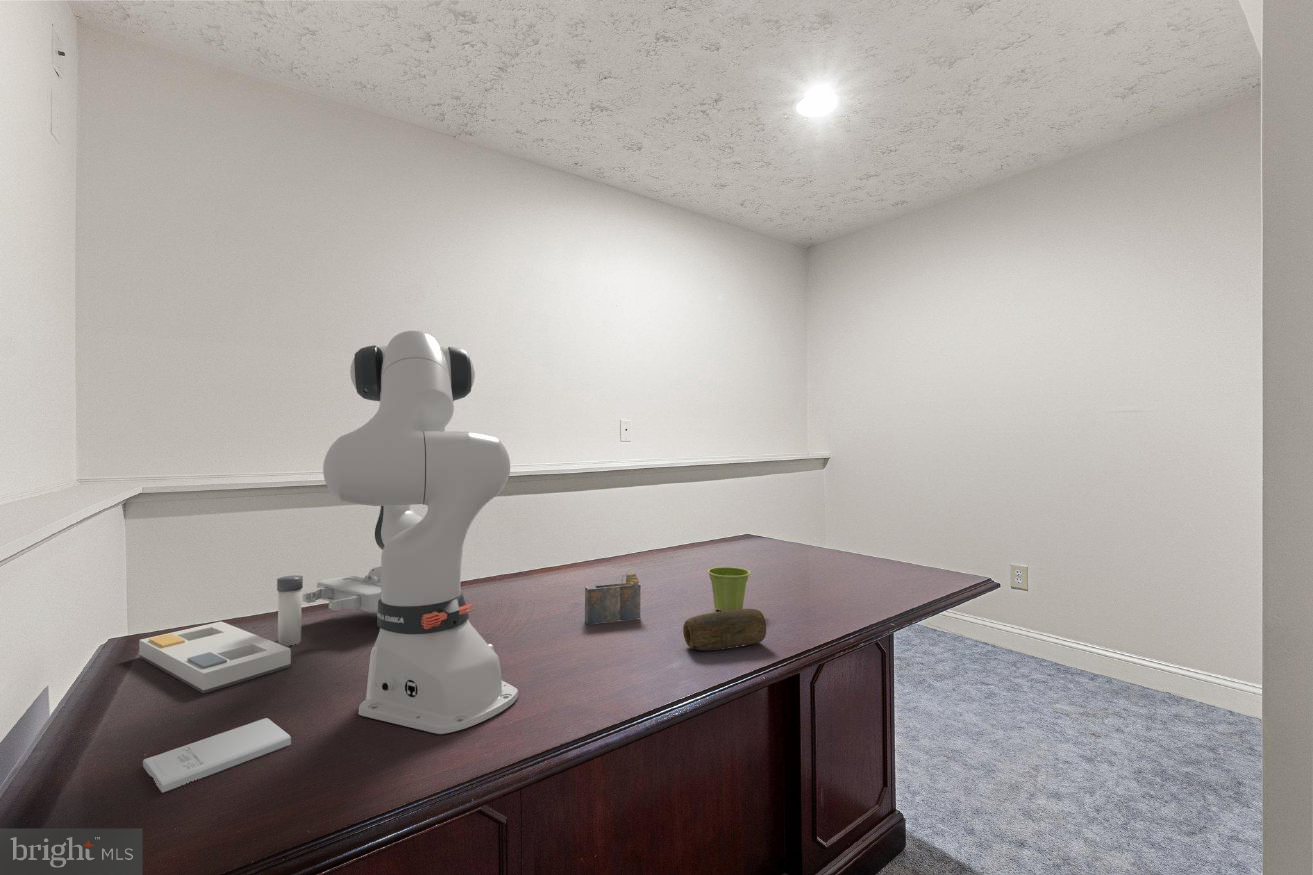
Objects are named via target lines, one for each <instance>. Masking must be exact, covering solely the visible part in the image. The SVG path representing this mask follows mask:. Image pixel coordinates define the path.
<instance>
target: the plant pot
mask: <svg viewBox="0 0 1313 875" xmlns="http://www.w3.org/2000/svg"><path fill="white" fill-rule="evenodd" d="M707 573H708V574H709V580H710V581H711V582H710V583H711V588H712V589H711V590H712V596H713V603H714V609H715V608H716V610H719V611H718V612H720V611H729V610H738V609H744V600H745V593H746V588H747V582H748V580H749V576H750V575H751V571H750V570H748V569H746V568H742V567H741V568H740V567H733V566H720V567H719V566H718V567H713V568H709V569H707ZM716 610H715V611H716Z"/></svg>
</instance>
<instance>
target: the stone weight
mask: <svg viewBox="0 0 1313 875" xmlns="http://www.w3.org/2000/svg"><path fill="white" fill-rule="evenodd" d="M764 616H765V615H764V614H763V612H761V611H760V610H758V609H755V608H743V609H738V610H729V611H721V612H720V611H715V612H710V613H704V614H699V615H695V616H692V617H690V618H687V619H686V620H685V621H684V624H683V627H682V633H683V634H682V635H683V639H684V641H685V643H686V645H687V646H688V648H690V650H698V651H714V650H713V649H718V650H723V649H722V648H725V649H729V648H728V647H734V648H737V647H736V646H742V645H746V646H750V644H751V645H755V644H759V643H761V642H763V641H764V640H765V639H766V635H767V623H766V619H765V617H764ZM742 647H743V646H742Z"/></svg>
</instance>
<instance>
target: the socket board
mask: <svg viewBox="0 0 1313 875" xmlns="http://www.w3.org/2000/svg"><path fill="white" fill-rule="evenodd" d="M138 644H139V647H138V648H139V649H138V651H139V653H138V654H139V656H138V657H139V658H140V659H141V660H144V661H145V662H147V663H149V664H150V665H152V666H154V667H156V668H158V669H159V670H161V671H163V672H164V673H166V674H168V675H169V676H171V677H173V678H175V679H176V680H179V681H180V682H182V683H184V684H186V685H187V686H189V687H191V688H193V689H194V690H196V691H199V692H200V693H201V694H208V693H210V692H213V691H217V690H221V689H224V688H226V687H227V688H228V687H230V686H234V685H237V684H241V683H243V682H246V681H250V680H253V679H256V678H259V677H260V678H261V677H263V676H266V675H269V674H272V673H275V672H279V671H282V670H285V669H289V668H291V664H292V662H291V660H292V658H291V657H292V655H291V654H292V652H291V651H292V649H291V648H289V646H286V647H285V646H282V645H280V644H278V642H275V641H272V640H269V639H267V638H264V637H263V636H259V635H257V634H254V633H252V632H249V631H246V630H244V629H242V628H239V627H237V626H234V625H232V624H229V623H227V622H224V621H216V622H213V623H209V624H204V625H198V626H195V627H190V628H186V629H182V630H177V631H172V632H169V633H163V634H161V635H156V636H150V637H146V638H141V639H139V643H138Z"/></svg>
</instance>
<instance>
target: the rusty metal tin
mask: <svg viewBox="0 0 1313 875" xmlns="http://www.w3.org/2000/svg"><path fill="white" fill-rule="evenodd" d="M625 576H626V577H625V578H626V579H625V582H622V583H621V582H618V583H609V584H607V583H606V584H598V585H597V584H596V585H595V588H589V587H588V586H587V585H586V586H584V621H586V622H587V623H586V622H585V623H586V624H587V625H588V624H590V625H598V624H597V623H599V624H604V623H603V622H608V623H614V622H613V621H617V622H619V621H618V620H626V621H630V620H629V619H635V620H639V619H638V618H640V619H641V583H640V580H639V578H638V576H637V574H636V572H635V571H634V573H630V574H628V572H626V573H625Z"/></svg>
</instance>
